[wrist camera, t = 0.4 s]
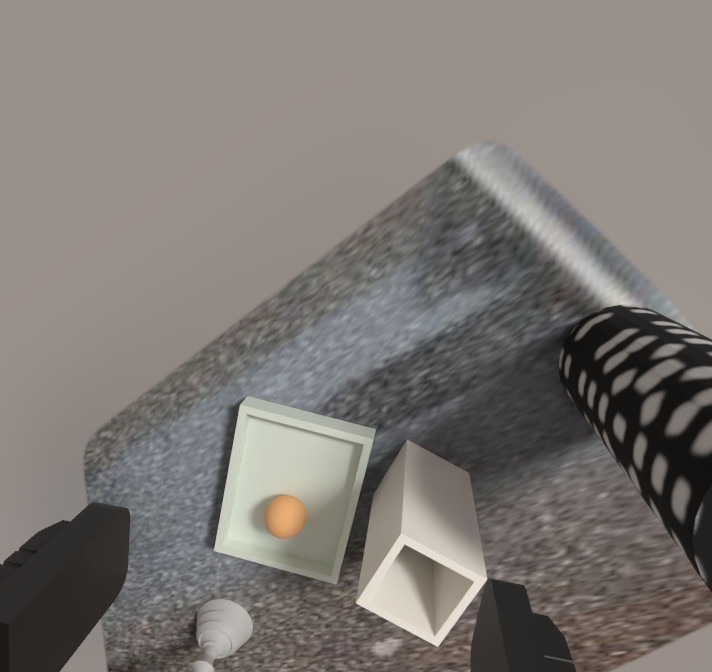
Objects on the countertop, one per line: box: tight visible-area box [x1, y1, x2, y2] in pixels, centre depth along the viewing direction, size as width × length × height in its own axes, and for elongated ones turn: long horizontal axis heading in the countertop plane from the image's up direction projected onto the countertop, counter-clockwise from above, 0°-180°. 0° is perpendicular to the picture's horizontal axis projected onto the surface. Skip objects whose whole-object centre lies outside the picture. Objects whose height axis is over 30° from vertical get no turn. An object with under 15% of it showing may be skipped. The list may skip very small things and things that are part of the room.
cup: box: [356, 440, 487, 647], centre depth 37 cm, size 5×5×12 cm
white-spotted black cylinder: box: [559, 305, 712, 592], centre depth 29 cm, size 8×8×20 cm
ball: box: [264, 495, 306, 539], centre depth 42 cm, size 3×3×3 cm
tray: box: [214, 396, 376, 585], centre depth 43 cm, size 13×10×2 cm
